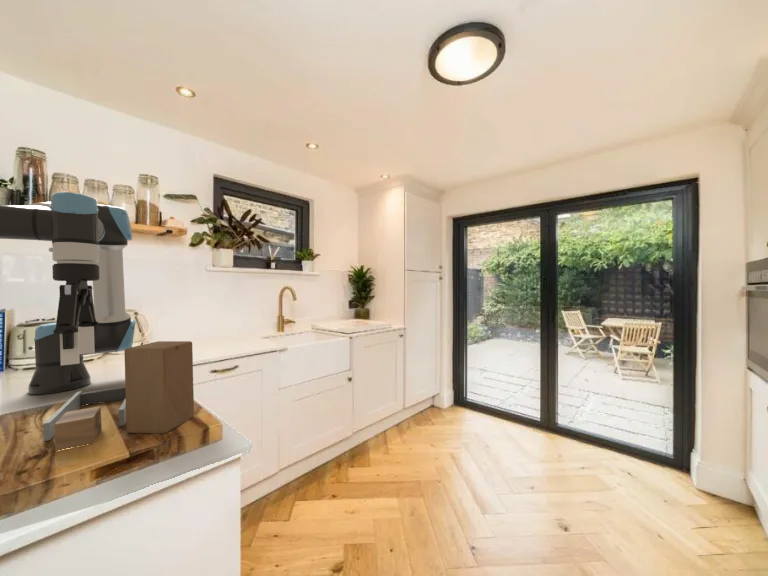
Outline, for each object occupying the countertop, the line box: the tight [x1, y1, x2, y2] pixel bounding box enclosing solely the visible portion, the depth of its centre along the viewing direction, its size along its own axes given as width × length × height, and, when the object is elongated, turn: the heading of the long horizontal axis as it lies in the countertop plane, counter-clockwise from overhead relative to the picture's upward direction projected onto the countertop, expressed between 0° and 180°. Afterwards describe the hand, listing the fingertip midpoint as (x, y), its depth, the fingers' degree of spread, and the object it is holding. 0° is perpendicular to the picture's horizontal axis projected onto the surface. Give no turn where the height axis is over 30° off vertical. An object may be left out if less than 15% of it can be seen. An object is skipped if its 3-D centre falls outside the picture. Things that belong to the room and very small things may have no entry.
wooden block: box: [124, 340, 195, 435], centre depth 78 cm, size 10×10×20 cm
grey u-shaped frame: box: [43, 386, 126, 442], centre depth 85 cm, size 26×14×4 cm, turn 33°
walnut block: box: [54, 405, 103, 451], centre depth 70 cm, size 8×6×6 cm
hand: (79, 358), depth 70 cm, fingers open, 12 cm apart
